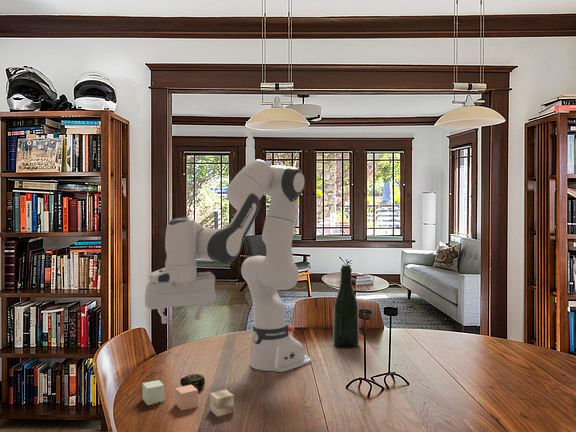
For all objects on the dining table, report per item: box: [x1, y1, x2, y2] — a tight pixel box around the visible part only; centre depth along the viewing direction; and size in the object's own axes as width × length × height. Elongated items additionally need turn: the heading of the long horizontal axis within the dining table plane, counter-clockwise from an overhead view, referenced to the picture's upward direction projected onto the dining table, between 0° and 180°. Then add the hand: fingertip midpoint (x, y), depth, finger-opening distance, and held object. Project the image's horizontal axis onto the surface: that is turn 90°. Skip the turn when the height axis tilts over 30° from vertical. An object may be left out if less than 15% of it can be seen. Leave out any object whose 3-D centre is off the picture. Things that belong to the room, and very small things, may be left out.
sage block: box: [141, 379, 165, 406], centre depth 148 cm, size 5×5×5 cm
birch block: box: [209, 389, 235, 417], centre depth 141 cm, size 5×5×5 cm
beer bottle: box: [332, 263, 360, 349], centre depth 202 cm, size 10×10×33 cm
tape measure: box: [179, 373, 206, 391], centre depth 157 cm, size 7×7×4 cm
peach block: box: [174, 385, 199, 412], centre depth 144 cm, size 5×5×5 cm
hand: (181, 321), depth 144 cm, fingers open, 8 cm apart
